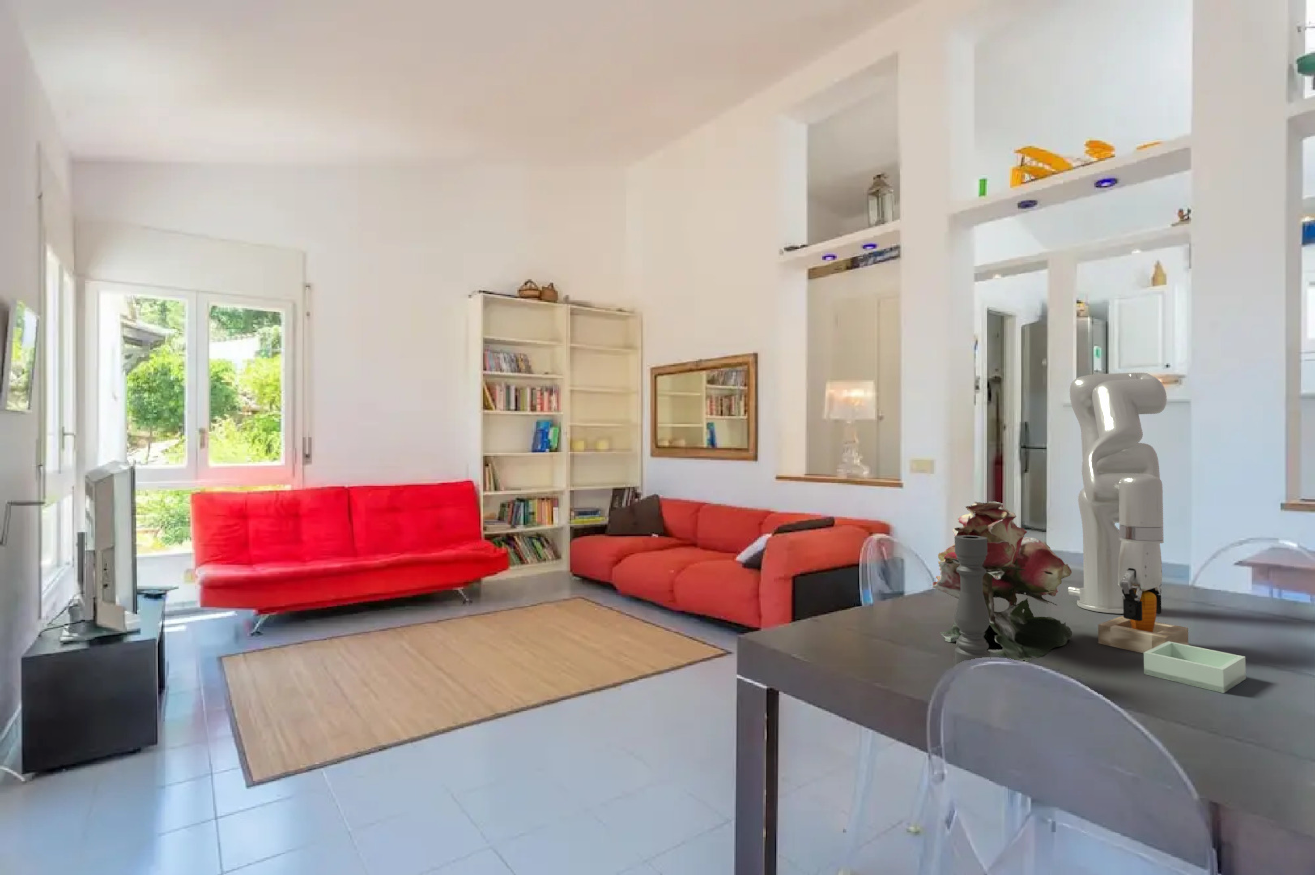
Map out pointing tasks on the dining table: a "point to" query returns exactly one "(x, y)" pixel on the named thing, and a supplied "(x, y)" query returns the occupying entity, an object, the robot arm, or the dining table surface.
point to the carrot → (1146, 612)
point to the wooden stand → (1139, 635)
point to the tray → (1195, 666)
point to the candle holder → (971, 598)
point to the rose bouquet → (1009, 582)
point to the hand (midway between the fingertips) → (1142, 616)
